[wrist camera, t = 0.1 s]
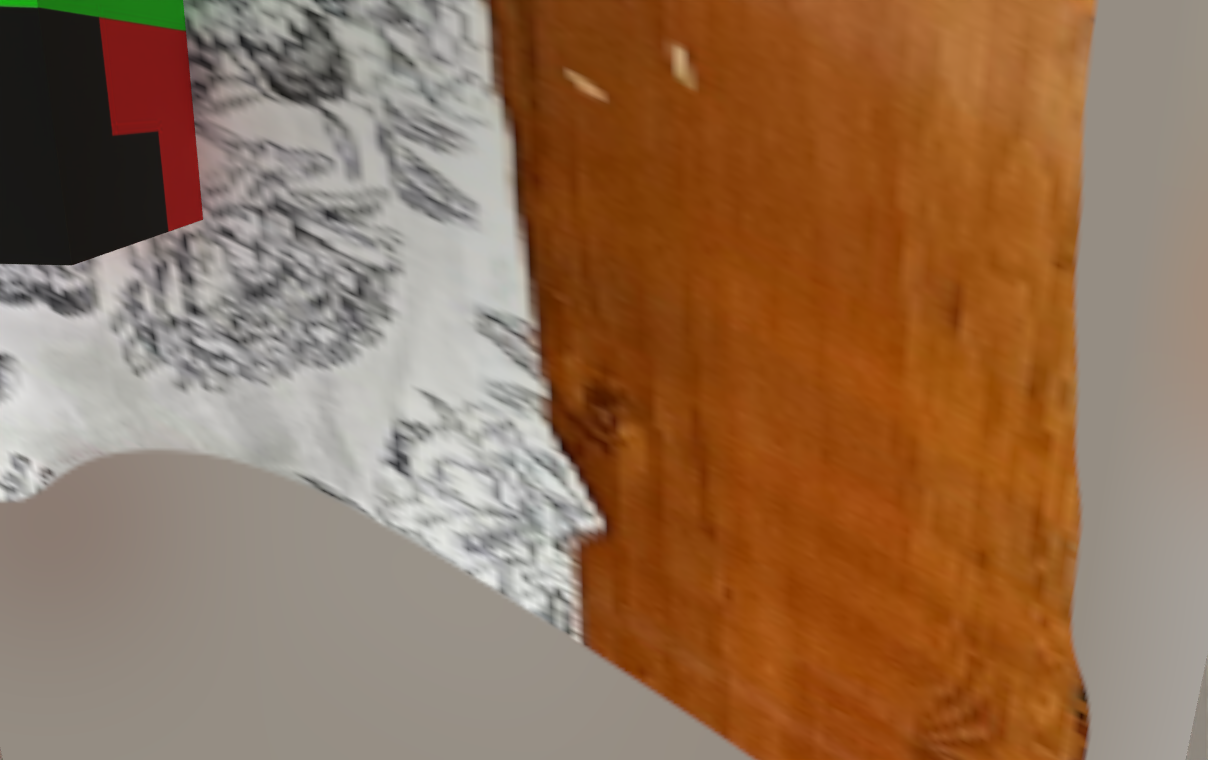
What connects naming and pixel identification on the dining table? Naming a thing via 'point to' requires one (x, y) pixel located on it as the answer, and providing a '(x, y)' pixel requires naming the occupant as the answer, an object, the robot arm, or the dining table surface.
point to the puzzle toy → (93, 127)
